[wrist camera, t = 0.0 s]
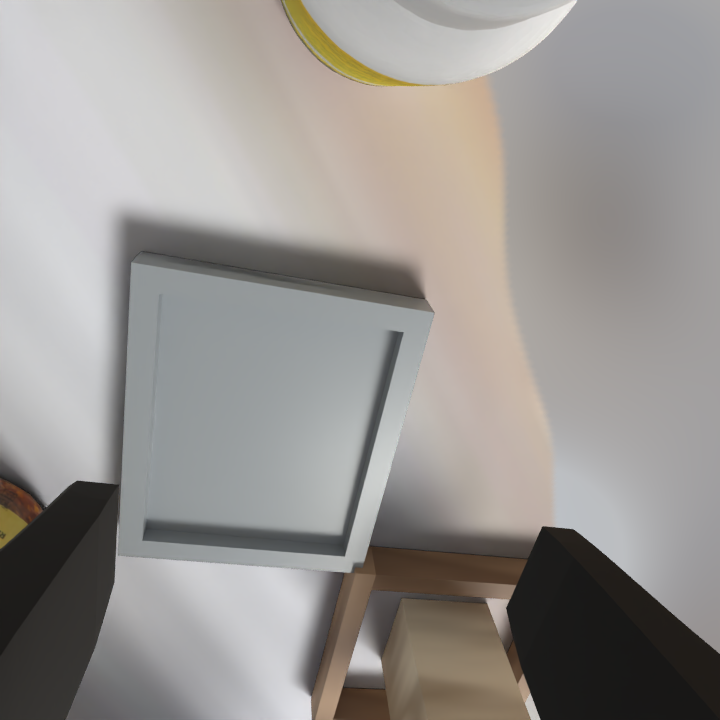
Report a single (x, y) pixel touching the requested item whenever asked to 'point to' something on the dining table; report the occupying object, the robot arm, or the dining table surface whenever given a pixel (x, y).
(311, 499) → the tray
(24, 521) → the sauce bottle
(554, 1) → the supplement bottle
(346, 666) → the holder
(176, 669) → the dining table surface
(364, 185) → the dining table surface
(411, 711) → the peg
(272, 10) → the dining table surface
